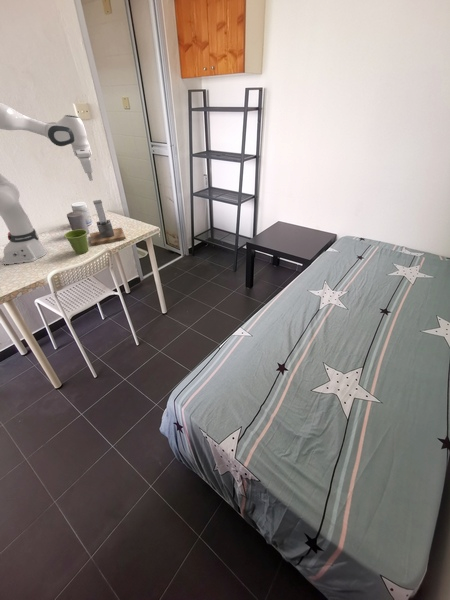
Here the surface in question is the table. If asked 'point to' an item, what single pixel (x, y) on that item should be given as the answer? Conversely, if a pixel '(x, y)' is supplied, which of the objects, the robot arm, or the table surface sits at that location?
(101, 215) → the column
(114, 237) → the stand
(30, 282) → the table surface
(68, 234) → the plant pot
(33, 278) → the table surface
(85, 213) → the supplement tub
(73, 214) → the pillar candle
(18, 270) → the table surface
